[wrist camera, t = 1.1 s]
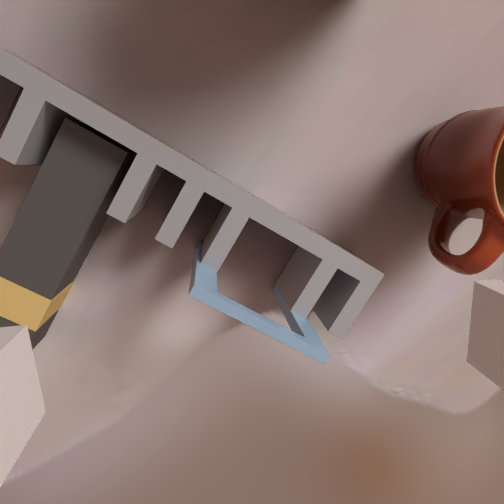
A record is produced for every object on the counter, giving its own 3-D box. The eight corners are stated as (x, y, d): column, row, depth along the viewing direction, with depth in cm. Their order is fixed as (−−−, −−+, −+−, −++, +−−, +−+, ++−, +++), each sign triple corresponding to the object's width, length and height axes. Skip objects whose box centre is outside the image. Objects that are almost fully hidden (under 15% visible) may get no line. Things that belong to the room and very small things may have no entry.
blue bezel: (195, 249, 30) (188, 294, 20) (199, 242, 30) (194, 285, 20) (286, 297, 32) (324, 364, 22) (290, 291, 32) (330, 355, 21)
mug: (446, 81, 30) (566, 41, 20) (525, 148, 31) (672, 142, 21) (353, 215, 31) (421, 240, 21) (434, 271, 33) (531, 318, 23)
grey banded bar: (-7, 313, 30) (-45, 340, 25) (87, 124, 28) (63, 116, 23) (45, 336, 31) (17, 366, 26) (140, 154, 28) (127, 153, 24)
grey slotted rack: (-19, 124, 27) (-82, 113, 21) (13, 53, 26) (-43, 22, 20) (318, 307, 32) (342, 338, 27) (352, 253, 32) (384, 274, 26)
